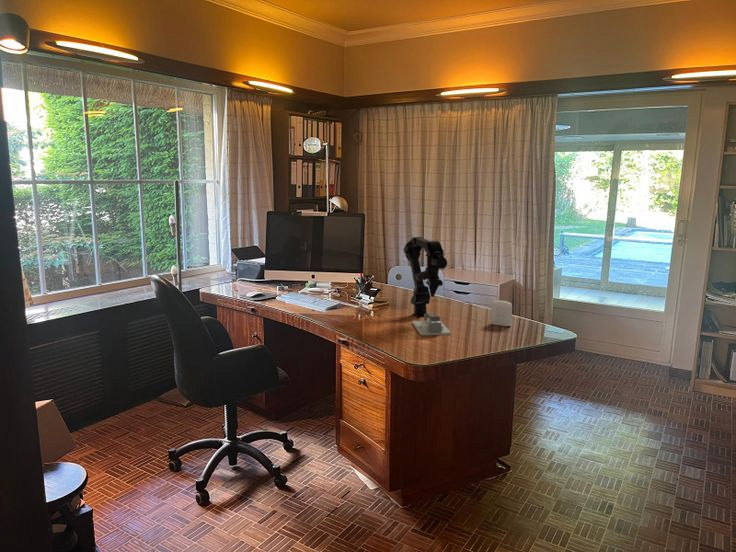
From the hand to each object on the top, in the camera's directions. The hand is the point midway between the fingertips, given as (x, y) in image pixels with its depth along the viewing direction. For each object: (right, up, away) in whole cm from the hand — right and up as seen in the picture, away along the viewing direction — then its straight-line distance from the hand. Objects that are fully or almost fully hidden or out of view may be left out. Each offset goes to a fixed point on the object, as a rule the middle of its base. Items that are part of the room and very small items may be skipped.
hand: (432, 296), depth 270 cm
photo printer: (+33, -14, -6) cm, 37 cm away
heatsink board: (-2, -15, -11) cm, 19 cm away
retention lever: (-2, -9, -9) cm, 13 cm away
